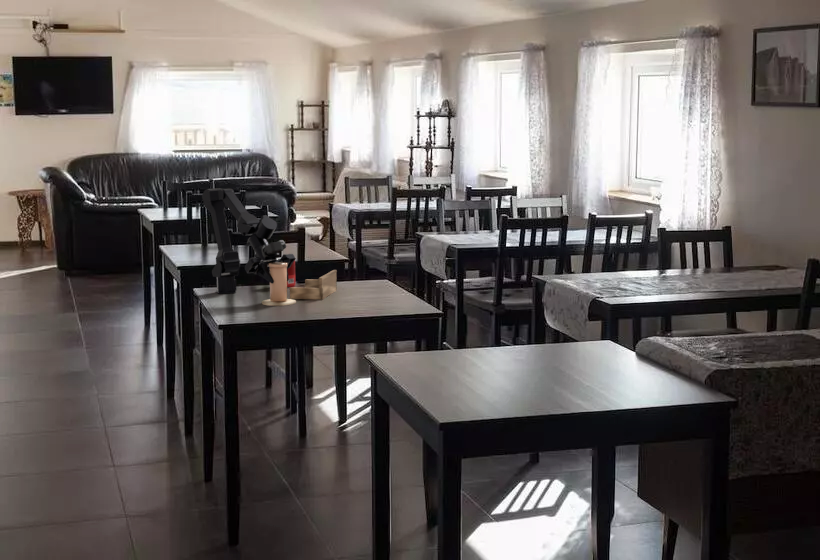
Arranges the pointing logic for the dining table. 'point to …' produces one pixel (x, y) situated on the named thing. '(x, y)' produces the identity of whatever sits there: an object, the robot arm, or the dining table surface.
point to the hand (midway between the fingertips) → (280, 281)
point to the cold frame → (316, 287)
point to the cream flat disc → (278, 302)
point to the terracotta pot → (278, 281)
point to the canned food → (291, 275)
